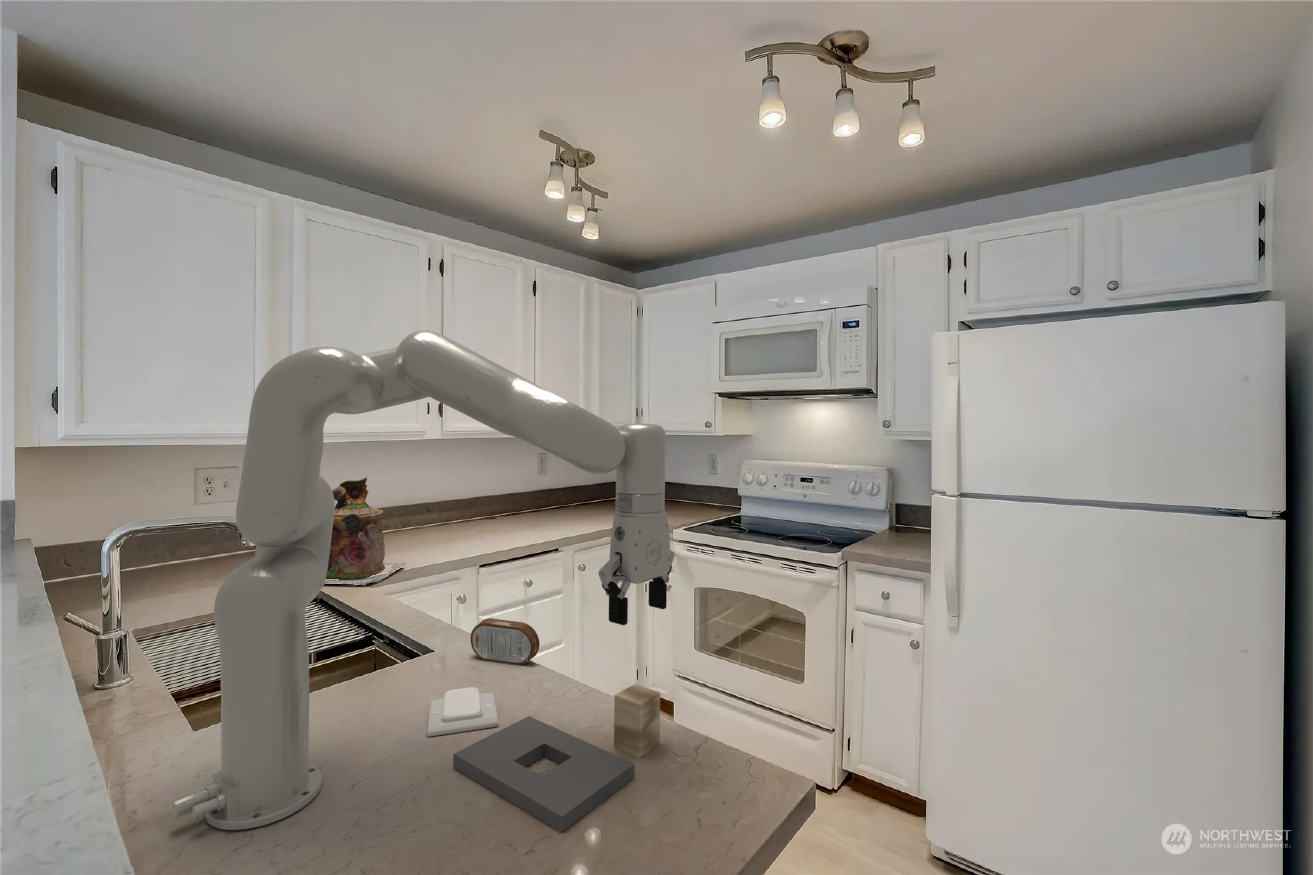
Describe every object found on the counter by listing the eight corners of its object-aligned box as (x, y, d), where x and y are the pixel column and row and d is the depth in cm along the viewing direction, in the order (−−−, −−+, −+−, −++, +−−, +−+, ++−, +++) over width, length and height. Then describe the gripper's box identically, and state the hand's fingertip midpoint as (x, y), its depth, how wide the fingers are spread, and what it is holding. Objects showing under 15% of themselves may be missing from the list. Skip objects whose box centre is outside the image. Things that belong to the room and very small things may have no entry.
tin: (540, 662, 121) (540, 622, 121) (532, 668, 118) (533, 627, 118) (476, 654, 125) (476, 615, 125) (467, 659, 122) (468, 619, 122)
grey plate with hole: (561, 832, 70) (561, 816, 70) (453, 767, 84) (453, 753, 84) (634, 777, 82) (634, 763, 82) (528, 728, 95) (528, 715, 95)
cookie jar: (338, 566, 200) (338, 473, 200) (408, 568, 200) (409, 475, 199) (290, 586, 176) (290, 480, 175) (370, 588, 175) (370, 481, 174)
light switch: (493, 677, 107) (498, 704, 95) (493, 700, 107) (498, 730, 95) (430, 685, 104) (427, 714, 92) (430, 709, 104) (426, 741, 91)
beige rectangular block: (639, 758, 87) (640, 704, 87) (614, 746, 90) (614, 695, 90) (659, 743, 91) (660, 692, 91) (634, 733, 94) (635, 683, 94)
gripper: (622, 512, 81) (620, 635, 81) (691, 501, 94) (689, 606, 95) (583, 507, 85) (581, 624, 85) (654, 497, 99) (652, 597, 99)
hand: (638, 614), depth 90 cm, fingers open, 9 cm apart
